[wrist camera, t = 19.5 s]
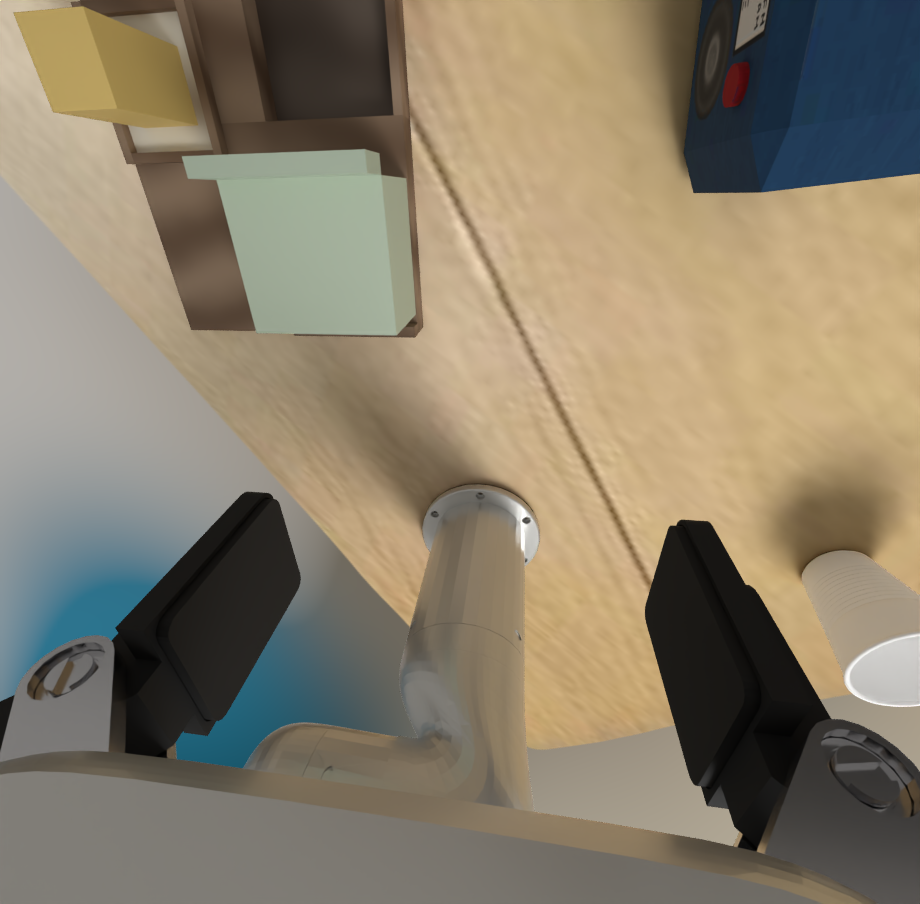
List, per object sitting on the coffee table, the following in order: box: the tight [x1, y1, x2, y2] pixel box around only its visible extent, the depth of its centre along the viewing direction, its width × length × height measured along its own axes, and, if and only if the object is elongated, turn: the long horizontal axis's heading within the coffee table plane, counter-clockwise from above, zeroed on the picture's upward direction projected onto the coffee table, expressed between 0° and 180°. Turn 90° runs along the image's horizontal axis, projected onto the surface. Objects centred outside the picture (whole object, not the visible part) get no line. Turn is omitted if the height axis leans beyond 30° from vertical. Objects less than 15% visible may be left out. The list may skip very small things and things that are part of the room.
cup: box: [802, 550, 920, 707], centre depth 39 cm, size 10×10×11 cm
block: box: [14, 6, 198, 128], centre depth 26 cm, size 4×4×7 cm
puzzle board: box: [71, 0, 423, 337], centre depth 30 cm, size 26×20×3 cm
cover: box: [182, 149, 416, 335], centre depth 28 cm, size 10×10×8 cm
